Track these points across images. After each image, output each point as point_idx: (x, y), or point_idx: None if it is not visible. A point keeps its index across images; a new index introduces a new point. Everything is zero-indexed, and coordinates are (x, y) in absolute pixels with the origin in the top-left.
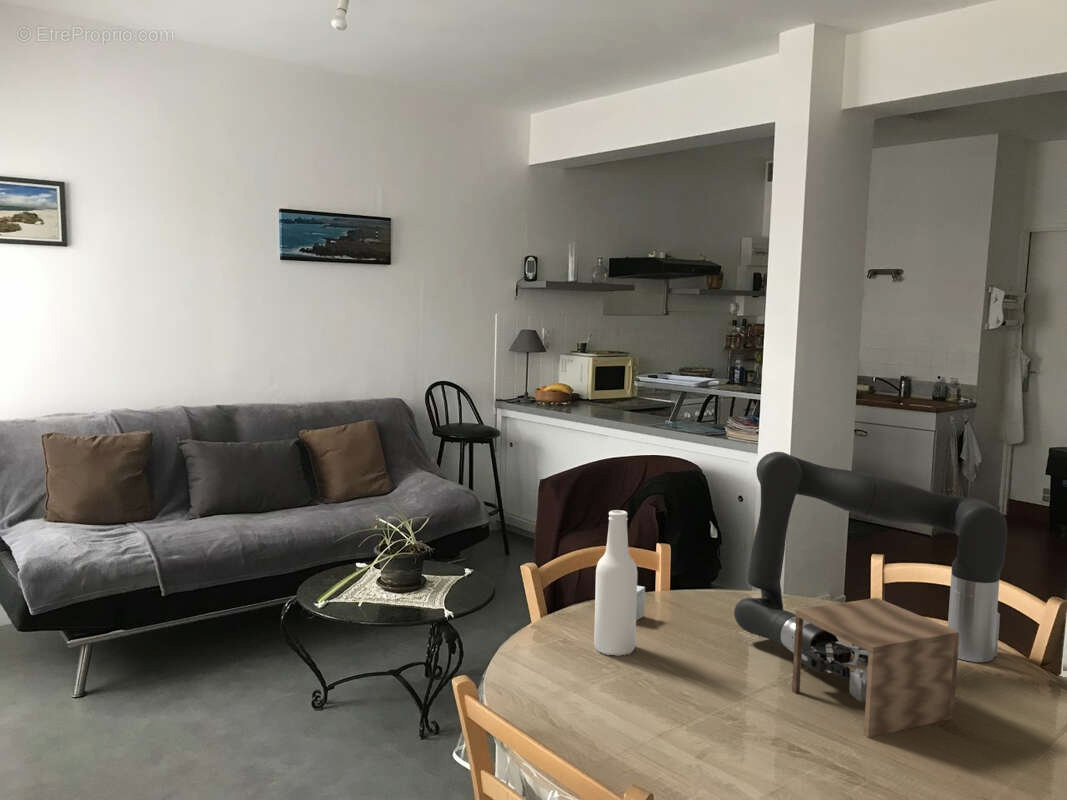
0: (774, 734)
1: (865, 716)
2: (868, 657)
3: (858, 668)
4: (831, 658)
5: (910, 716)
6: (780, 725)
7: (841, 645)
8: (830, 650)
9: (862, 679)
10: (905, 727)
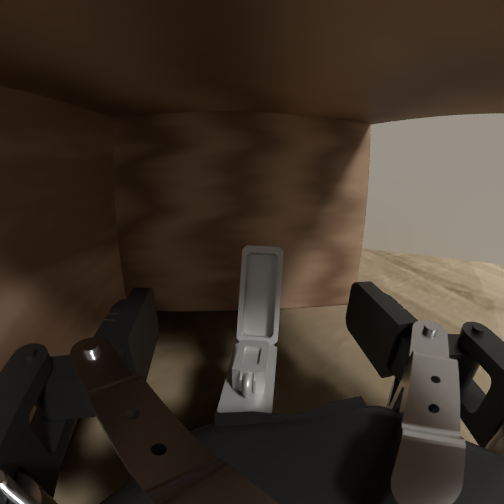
0: (495, 315)
1: (358, 265)
2: (369, 136)
3: (243, 369)
4: (426, 326)
5: None
6: (493, 332)
7: (241, 480)
8: (427, 384)
9: (277, 334)
10: None
